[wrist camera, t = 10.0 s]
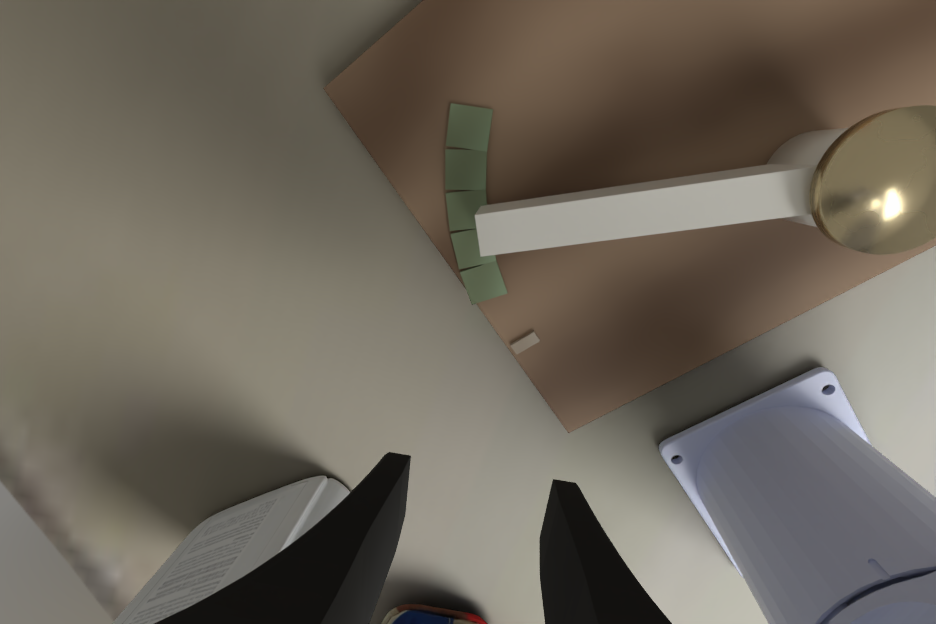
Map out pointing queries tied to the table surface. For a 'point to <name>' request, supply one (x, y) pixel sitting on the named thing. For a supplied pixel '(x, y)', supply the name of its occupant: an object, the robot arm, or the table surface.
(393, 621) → the pencil case
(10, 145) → the table surface
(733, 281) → the board
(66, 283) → the table surface
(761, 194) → the peg lever
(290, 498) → the photo printer
